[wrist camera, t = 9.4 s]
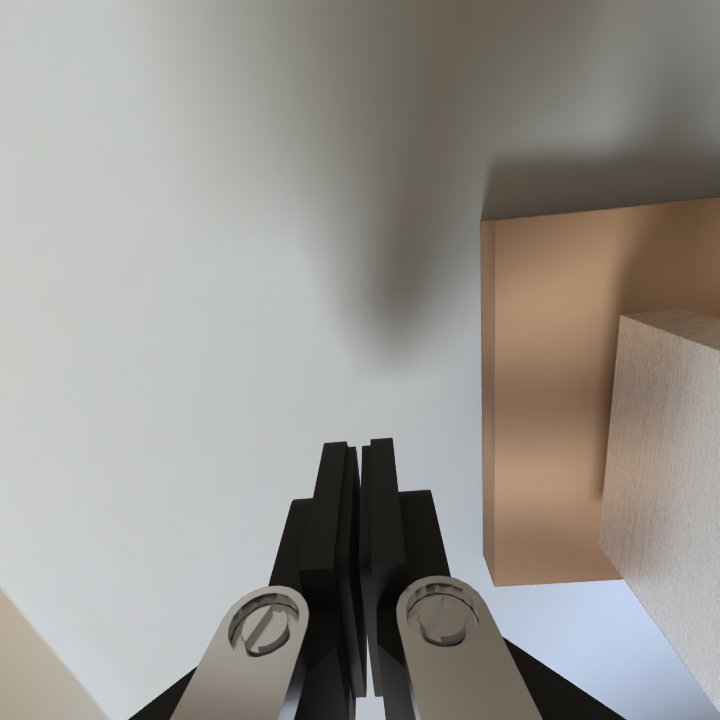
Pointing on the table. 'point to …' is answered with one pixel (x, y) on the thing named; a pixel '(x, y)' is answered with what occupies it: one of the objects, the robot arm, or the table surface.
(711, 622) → the plunger
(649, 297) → the gauge board
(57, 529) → the table surface
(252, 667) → the robot arm
